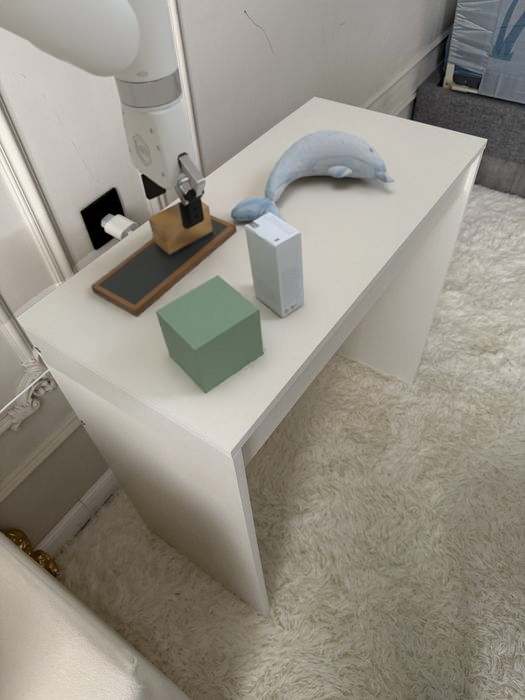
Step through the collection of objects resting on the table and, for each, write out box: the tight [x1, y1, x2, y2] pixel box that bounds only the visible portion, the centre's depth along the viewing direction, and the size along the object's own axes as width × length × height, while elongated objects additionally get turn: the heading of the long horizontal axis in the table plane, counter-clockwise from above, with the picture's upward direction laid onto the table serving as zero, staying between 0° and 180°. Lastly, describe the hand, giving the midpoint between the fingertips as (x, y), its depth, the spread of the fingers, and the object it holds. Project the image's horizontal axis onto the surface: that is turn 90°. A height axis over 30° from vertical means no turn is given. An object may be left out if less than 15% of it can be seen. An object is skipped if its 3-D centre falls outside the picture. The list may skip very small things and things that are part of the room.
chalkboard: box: [90, 214, 237, 317], centre depth 78 cm, size 22×9×1 cm, turn 144°
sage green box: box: [155, 274, 264, 394], centre depth 63 cm, size 9×8×8 cm
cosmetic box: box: [244, 212, 305, 318], centre depth 67 cm, size 6×4×12 cm
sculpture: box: [230, 129, 395, 223], centre depth 84 cm, size 18×8×25 cm
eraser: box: [147, 200, 213, 257], centre depth 78 cm, size 8×4×5 cm, turn 130°
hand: (174, 209), depth 75 cm, fingers open, 9 cm apart
